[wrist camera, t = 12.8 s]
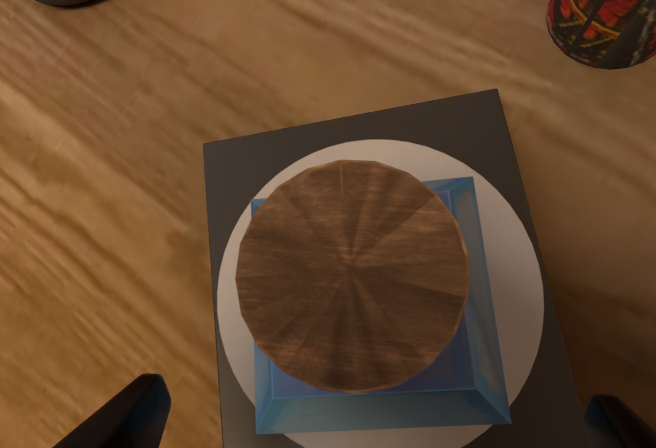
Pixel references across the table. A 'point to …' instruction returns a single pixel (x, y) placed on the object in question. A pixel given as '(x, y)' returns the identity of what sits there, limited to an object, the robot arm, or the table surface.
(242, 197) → the kitchen scale
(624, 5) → the deodorant
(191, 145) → the table surface
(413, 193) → the perfume bottle
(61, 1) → the smart speaker
